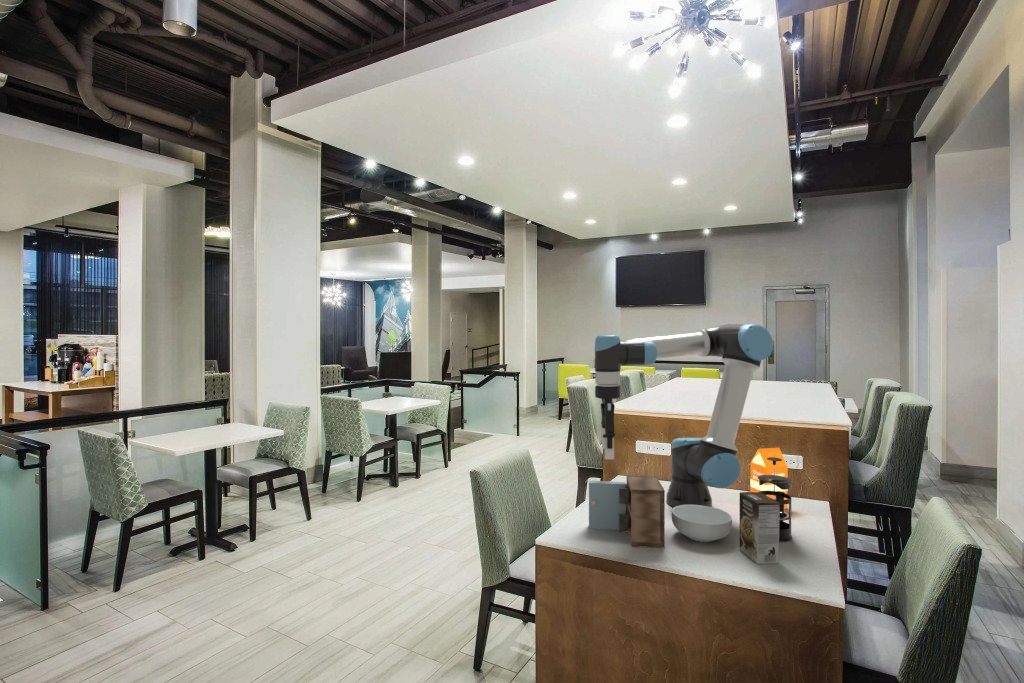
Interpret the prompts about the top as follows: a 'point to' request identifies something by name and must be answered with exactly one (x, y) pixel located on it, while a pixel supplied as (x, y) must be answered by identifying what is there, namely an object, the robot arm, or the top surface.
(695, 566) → the top surface
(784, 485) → the french press
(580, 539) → the top surface
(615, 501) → the door
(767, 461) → the orange juice
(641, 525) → the cabinet
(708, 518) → the cereal bowl
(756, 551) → the coffee box
